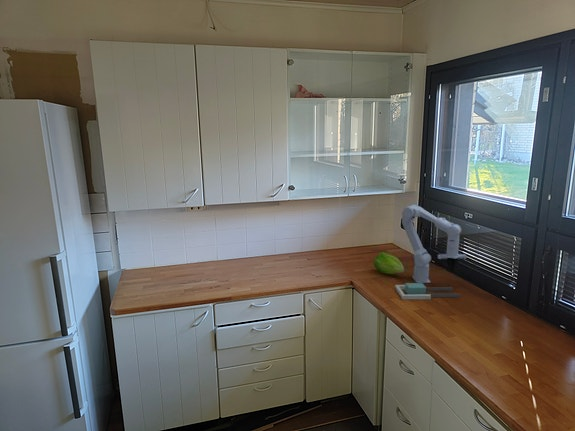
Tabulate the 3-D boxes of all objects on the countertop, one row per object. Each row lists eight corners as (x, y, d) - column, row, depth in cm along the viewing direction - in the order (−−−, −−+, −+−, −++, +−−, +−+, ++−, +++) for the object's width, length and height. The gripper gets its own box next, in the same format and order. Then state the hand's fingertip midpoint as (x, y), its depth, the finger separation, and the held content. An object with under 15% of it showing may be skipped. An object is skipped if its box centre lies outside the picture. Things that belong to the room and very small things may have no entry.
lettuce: (393, 282, 217) (394, 262, 215) (369, 271, 234) (369, 253, 231) (410, 277, 225) (411, 257, 222) (385, 267, 241) (385, 249, 239)
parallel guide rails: (424, 289, 206) (424, 287, 206) (451, 289, 206) (452, 287, 206) (430, 297, 197) (430, 294, 197) (459, 297, 197) (459, 294, 197)
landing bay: (395, 288, 209) (395, 284, 208) (421, 288, 209) (421, 284, 208) (402, 299, 195) (402, 295, 195) (430, 299, 195) (430, 295, 195)
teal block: (404, 291, 205) (405, 283, 204) (421, 291, 205) (422, 283, 203) (408, 296, 199) (408, 287, 198) (425, 296, 199) (426, 287, 198)
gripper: (442, 249, 200) (440, 273, 203) (469, 249, 200) (467, 273, 203) (437, 245, 207) (435, 269, 210) (463, 245, 207) (461, 268, 210)
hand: (450, 271), depth 207 cm, fingers closed
